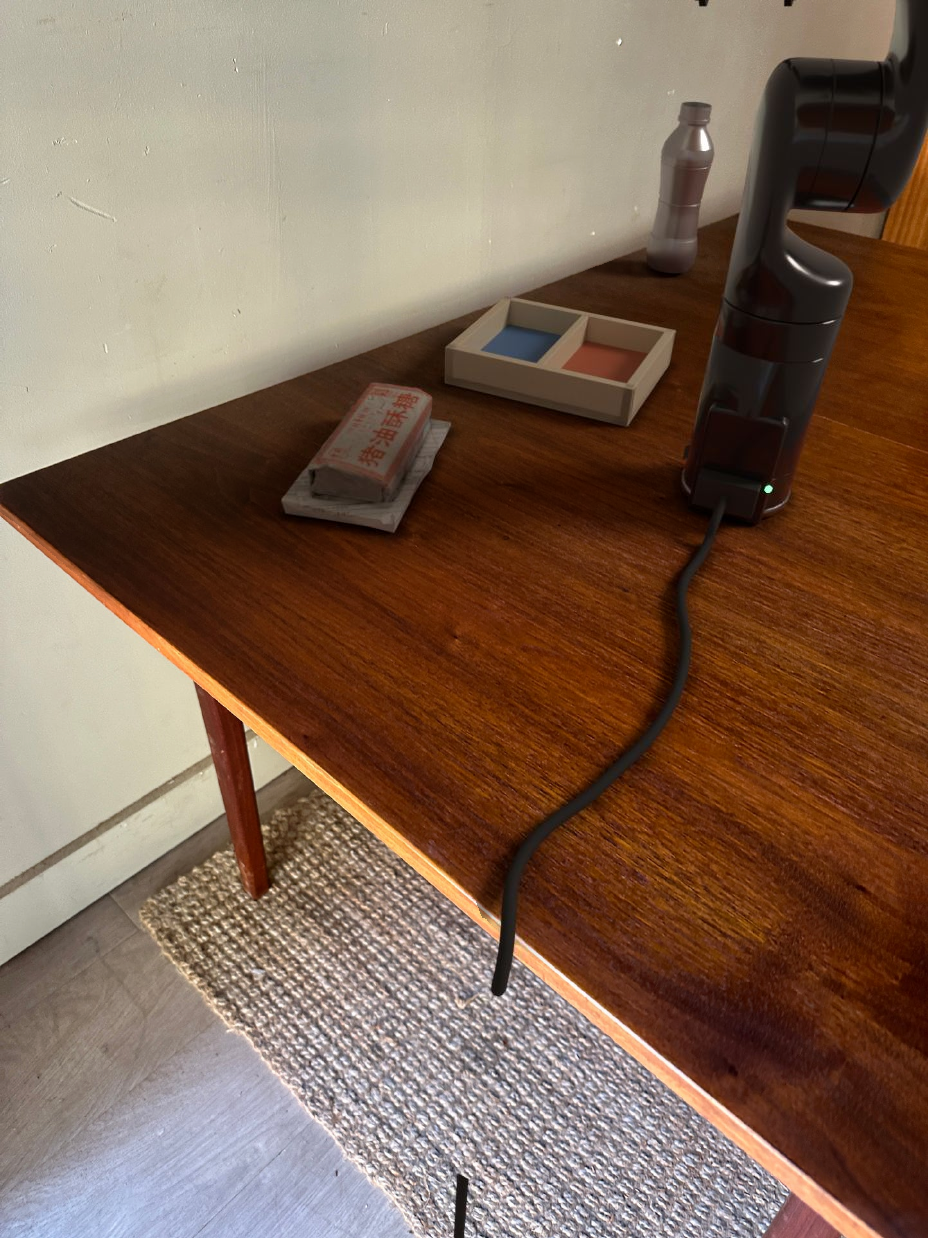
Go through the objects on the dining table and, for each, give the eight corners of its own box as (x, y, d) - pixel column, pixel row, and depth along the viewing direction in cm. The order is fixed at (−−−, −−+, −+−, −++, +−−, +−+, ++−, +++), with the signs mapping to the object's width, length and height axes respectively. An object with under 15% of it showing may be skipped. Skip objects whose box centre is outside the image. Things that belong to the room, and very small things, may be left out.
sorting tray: (627, 426, 90) (633, 389, 87) (444, 383, 96) (445, 346, 93) (669, 364, 101) (676, 329, 98) (503, 329, 107) (505, 295, 104)
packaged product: (350, 371, 86) (452, 386, 85) (353, 417, 89) (451, 433, 88) (275, 466, 73) (394, 486, 71) (281, 516, 76) (395, 536, 74)
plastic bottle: (692, 281, 121) (725, 112, 108) (641, 276, 122) (667, 108, 109) (693, 264, 126) (724, 101, 113) (644, 260, 127) (669, 97, 114)
